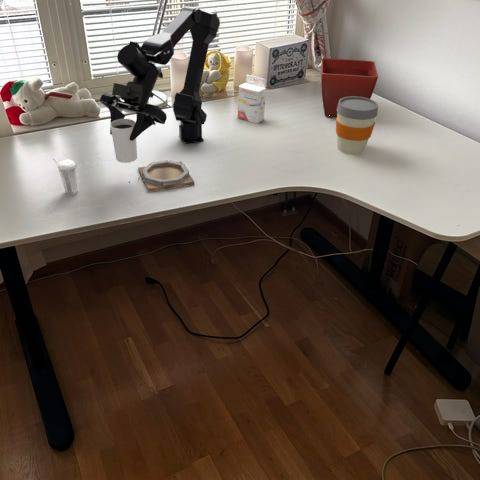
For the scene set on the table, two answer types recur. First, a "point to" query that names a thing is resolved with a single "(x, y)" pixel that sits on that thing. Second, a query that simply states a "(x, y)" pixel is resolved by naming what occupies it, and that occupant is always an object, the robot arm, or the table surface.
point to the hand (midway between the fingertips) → (121, 137)
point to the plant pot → (346, 81)
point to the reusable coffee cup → (355, 123)
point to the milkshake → (68, 176)
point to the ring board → (165, 175)
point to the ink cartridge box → (252, 99)
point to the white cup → (124, 140)
